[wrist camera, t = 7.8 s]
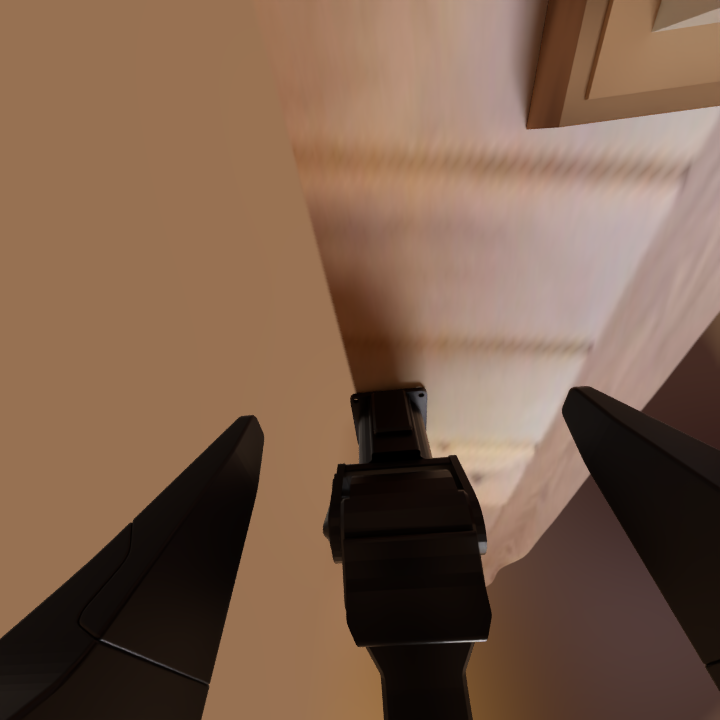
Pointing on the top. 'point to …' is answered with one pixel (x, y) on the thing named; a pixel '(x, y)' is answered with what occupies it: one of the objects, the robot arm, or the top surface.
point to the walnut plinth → (620, 64)
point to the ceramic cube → (686, 14)
